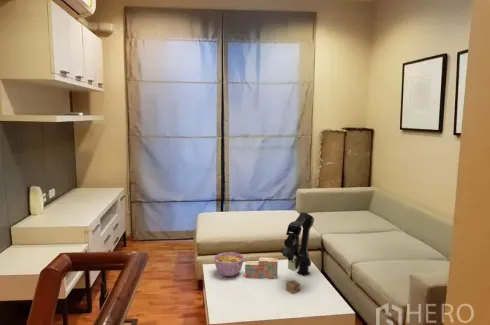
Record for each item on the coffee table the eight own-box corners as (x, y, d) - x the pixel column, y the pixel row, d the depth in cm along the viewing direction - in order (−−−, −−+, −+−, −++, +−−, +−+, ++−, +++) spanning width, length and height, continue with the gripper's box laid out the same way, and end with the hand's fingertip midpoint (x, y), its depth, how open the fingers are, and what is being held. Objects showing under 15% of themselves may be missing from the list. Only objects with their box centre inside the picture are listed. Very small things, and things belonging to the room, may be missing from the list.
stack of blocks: (244, 278, 250) (244, 260, 249) (245, 274, 257) (245, 256, 255) (277, 279, 248) (277, 261, 247) (277, 275, 254) (277, 257, 253)
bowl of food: (246, 279, 248) (246, 262, 247) (215, 281, 245) (215, 264, 243) (241, 267, 268) (241, 251, 266) (212, 269, 264) (212, 253, 263)
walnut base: (293, 287, 235) (293, 280, 234) (300, 291, 230) (300, 283, 229) (286, 290, 231) (286, 282, 231) (292, 294, 227) (292, 286, 226)
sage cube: (293, 266, 242) (294, 259, 242) (299, 269, 238) (299, 261, 238) (287, 268, 239) (288, 260, 239) (293, 271, 235) (293, 263, 235)
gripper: (274, 241, 240) (274, 265, 242) (294, 249, 225) (294, 275, 226) (288, 238, 246) (287, 261, 248) (308, 246, 231) (307, 271, 233)
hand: (293, 267), depth 239 cm, fingers closed on sage cube, 5 cm apart
